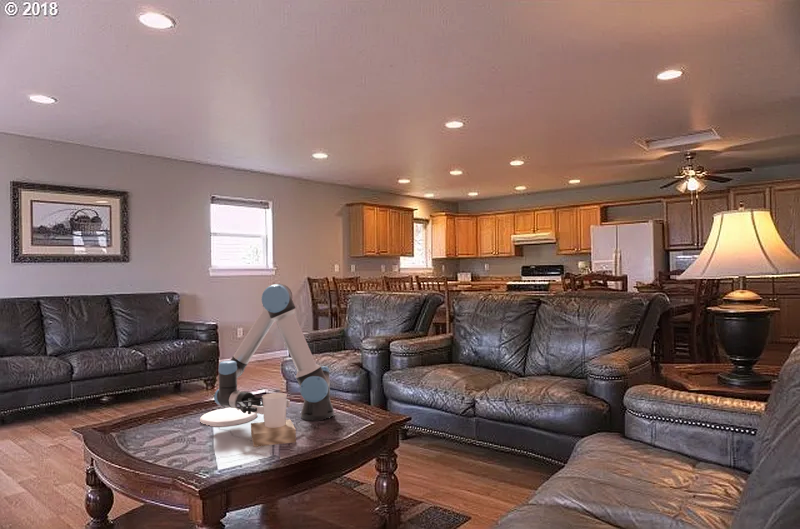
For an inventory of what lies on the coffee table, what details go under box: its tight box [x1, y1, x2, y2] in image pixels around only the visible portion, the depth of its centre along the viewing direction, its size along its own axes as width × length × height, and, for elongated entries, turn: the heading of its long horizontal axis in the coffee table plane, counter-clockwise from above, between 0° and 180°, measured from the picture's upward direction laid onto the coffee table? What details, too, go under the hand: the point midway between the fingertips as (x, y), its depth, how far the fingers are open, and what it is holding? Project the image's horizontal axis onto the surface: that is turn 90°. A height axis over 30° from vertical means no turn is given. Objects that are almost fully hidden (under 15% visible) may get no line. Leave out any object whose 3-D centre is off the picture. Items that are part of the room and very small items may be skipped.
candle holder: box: [262, 392, 288, 428], centre depth 222 cm, size 10×10×12 cm
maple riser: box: [250, 418, 297, 448], centre depth 220 cm, size 16×16×5 cm
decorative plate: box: [199, 407, 258, 427], centre depth 253 cm, size 25×4×25 cm
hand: (276, 407), depth 219 cm, fingers open, 13 cm apart
